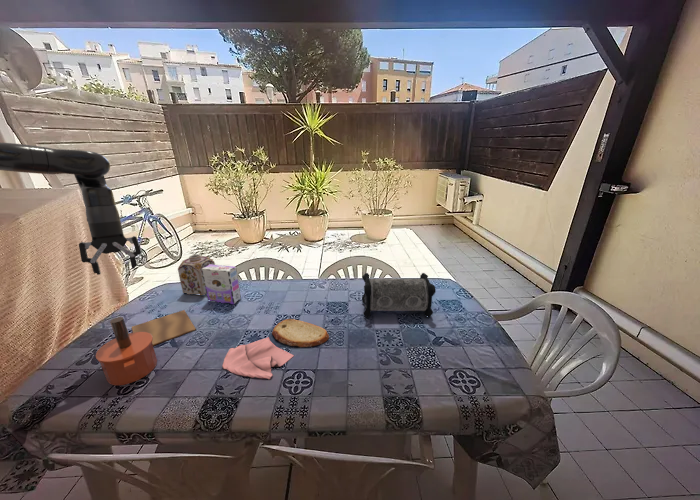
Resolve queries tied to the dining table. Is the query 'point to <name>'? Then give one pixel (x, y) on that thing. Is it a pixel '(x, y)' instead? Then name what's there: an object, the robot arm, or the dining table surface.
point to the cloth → (255, 359)
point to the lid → (123, 343)
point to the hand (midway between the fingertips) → (116, 271)
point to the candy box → (221, 283)
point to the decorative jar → (193, 274)
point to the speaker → (398, 295)
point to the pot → (130, 367)
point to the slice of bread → (299, 333)
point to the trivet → (166, 327)
